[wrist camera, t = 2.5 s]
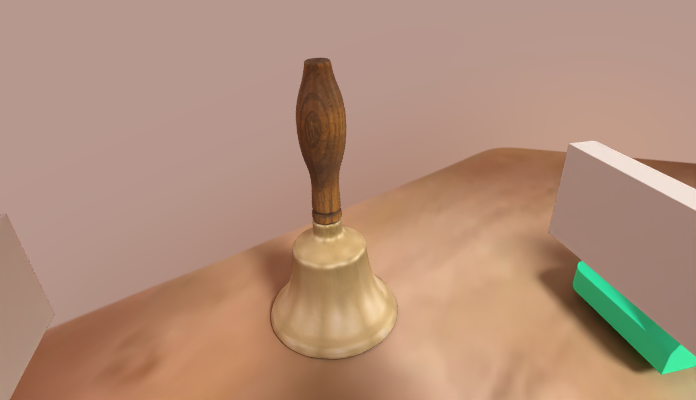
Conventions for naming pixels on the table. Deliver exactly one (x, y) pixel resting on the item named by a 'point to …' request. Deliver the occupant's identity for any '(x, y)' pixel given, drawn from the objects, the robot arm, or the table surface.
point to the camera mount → (632, 323)
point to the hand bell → (329, 244)
